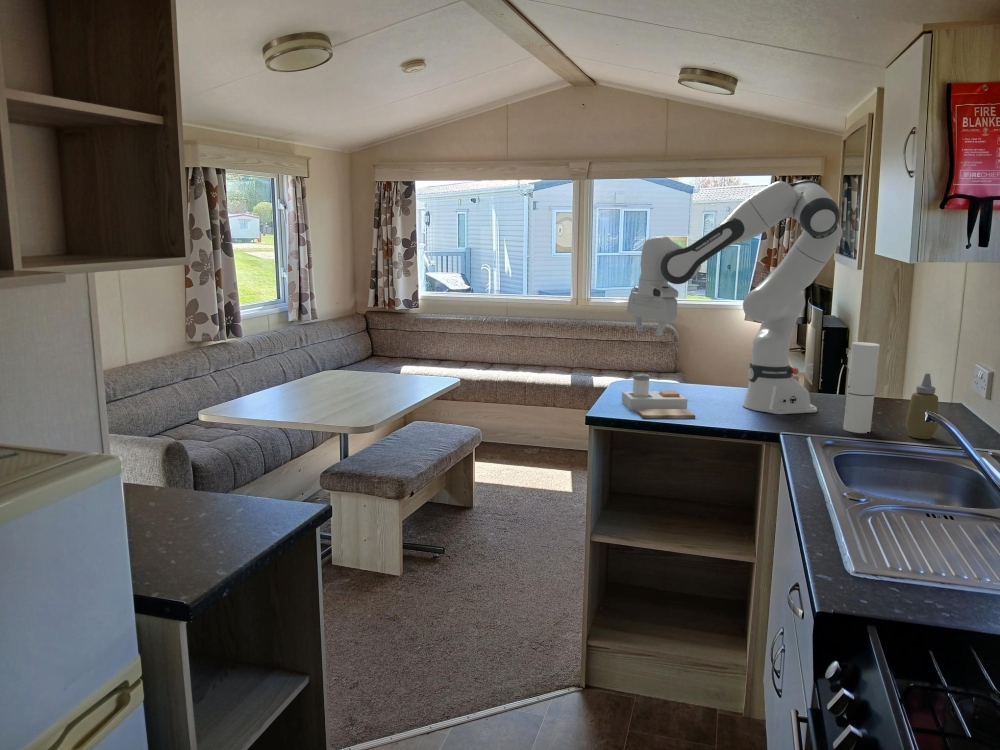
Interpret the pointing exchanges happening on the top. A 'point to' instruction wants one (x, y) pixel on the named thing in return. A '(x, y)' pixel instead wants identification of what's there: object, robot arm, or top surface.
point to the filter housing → (653, 401)
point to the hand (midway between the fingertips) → (649, 333)
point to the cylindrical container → (861, 387)
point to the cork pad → (665, 413)
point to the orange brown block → (669, 394)
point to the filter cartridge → (640, 385)
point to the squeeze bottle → (922, 410)
